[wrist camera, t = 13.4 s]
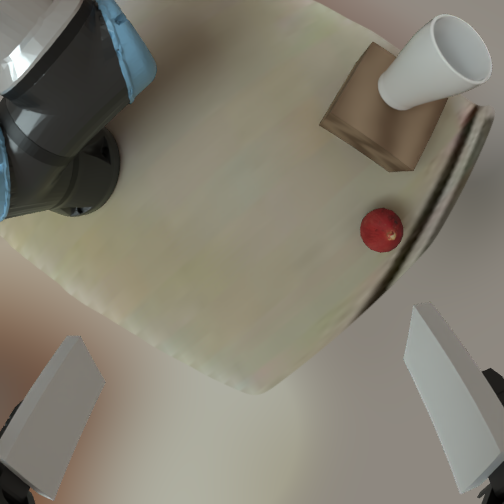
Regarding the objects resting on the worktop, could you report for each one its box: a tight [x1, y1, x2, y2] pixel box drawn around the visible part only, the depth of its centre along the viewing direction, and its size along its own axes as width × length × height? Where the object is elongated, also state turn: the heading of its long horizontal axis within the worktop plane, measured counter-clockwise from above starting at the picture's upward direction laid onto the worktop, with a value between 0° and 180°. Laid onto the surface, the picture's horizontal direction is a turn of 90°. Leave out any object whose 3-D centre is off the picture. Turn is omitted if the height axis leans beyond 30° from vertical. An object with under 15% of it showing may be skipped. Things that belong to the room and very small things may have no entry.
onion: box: [360, 208, 403, 253], centre depth 38 cm, size 6×6×8 cm
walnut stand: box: [319, 42, 448, 172], centre depth 34 cm, size 12×12×8 cm
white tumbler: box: [378, 14, 492, 110], centre depth 23 cm, size 7×7×15 cm
